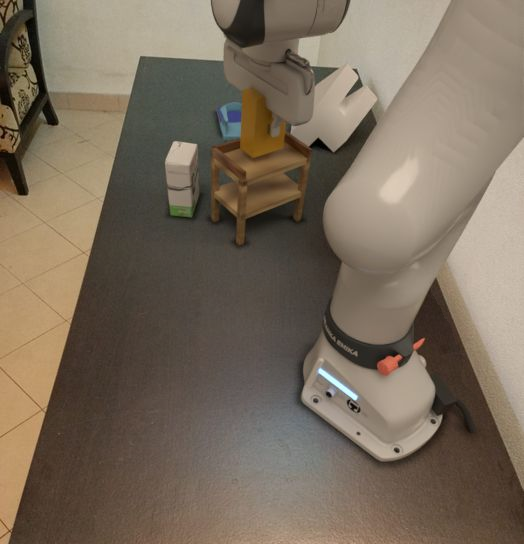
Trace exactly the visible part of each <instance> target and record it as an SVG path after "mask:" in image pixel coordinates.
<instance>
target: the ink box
mask: <svg viewBox="0 0 524 544" xmlns="http://www.w3.org/2000/svg"><path fill="white" fill-rule="evenodd" d="M164 168H165V179H166V189H167V199H168V207H169V208H168V209H169V215H170V216H173V217H183V218H193V217H194V213H195V210H196V207H197V203H198V200H199V196H200V177H199V174H200V173H199V149H198V144H197V143H191V142H185V141H178V140H174V141H172V144H171V146H170V149H169V150H168V152H167V156H166V158H165V160H164Z"/></svg>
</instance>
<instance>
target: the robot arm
mask: <svg viewBox="0 0 524 544" xmlns="http://www.w3.org/2000/svg"><path fill="white" fill-rule="evenodd" d="M350 5H351V0H210V8H211V12H212V16H213V19H214V22H215V24H216V26H217V27H218V28H219V30H220V31H221V32H222V33H223V34H222V35H223V37H224V38H225V40H224V43H223V56H222V57H223V59H222V61H223V62H222V63H223V74H224V77H225V81H226V82H227V83H228V84H230V85H231V86H233V87H235V89H238V90H239V91H240V92H242V90H245V89H249V88H252V89H253V90H255V91H256V92H258V93H259V94H261V95H263V96H264V97H265V107H266V108H267V109H268V110H270V111H271V112H272V118H274V120H273V122H272V124H268V126H267V134H269V135H270V136H271V137H273V138H274V137H277V136H279V134H280V127H281V125H282V124H283V122H284V121H286V123H287V124H289V125H291V127H292V126H299V125H302V124H305V123H307V122H309V121H310V120H311V118H312V116H313V109H314V94H315V86H316V85H315V84H316V83H315V72H314V70H313V68H312V66H311V62H310V61H309V60H308V59H307V58H305V57H303V56H301V55H299V46H300V39H306V38H307V39H308V38H315V37H321V36H322V37H323V36H325V35H328V34H332V33H335V32H336V31H337V30H338V29H339V28H340V26H341V25H342V23H343V22H344V20H345V18H346V16H347V14H348V12H349V8H350ZM384 110H385V111H384V112H383V113H382V115H381V117H380V118H379V119H378V121H377V123H376V125H375V126H374V127H373V130H372V131H371V133H370V134H369V136H368V138H367V139H366V141H365V143H364V145H363V146H362V148H361V149H360V150H359V152H358V154H357V156H356V157H355V159H354V160H353V162H352V164H351V165H350V166H349V167H348V169H347V171H346V172H345V174H344V175H342V177H341V179H340V180H339V181H338V183H337V184H336V186H335V187H334V189H333V190H332V191H331V192H330V194H329V195H328V197H327V199H326V201H325V204H324V207H323V212H322V227H323V232H324V235H325V238H326V241H327V243H328V245H329V247H330V249H331V250H332V251H333V253H334V254H335V256H336V257H337V258H338V259H339V261H341V264H340V267H339V271H338V275H337V278H336V282H335V286H334V289H333V293H332V295H331V296H330V298H329V299H328V301H327V304H326V308H325V311H324V314H323V318H322V323H321V324H322V325H321V326H322V329H321V332H320V334H319V336H318V338H317V340H316V341H315V343H314V345H313V347H312V348H311V349H310V350H309V352H308V353H307V354H306V357H305V359H304V361H303V366H302V374H303V381H304V383H303V387H302V390H301V394H300V401H301V403H302V404H303V405H304V406H306V407H307V408H309V410H311V411H313V412H314V414H316V415H317V416H319V417H320V418H322V419H323V420H324V421H325V422H326V423H328V424H330V425H331V426H332V427H333V428H335V429H336V430H337V431H339V433H342V434H343V435H344V436H345V437H347V438H348V439H349V440H351V441H352V442H353V443H355V444H356V445H357V446H358V447H359V448H361V449H362V450H363V451H365V452H366V453H367V454H369V455H370V456H372V457H373V458H374V459H375V460H377V461H379V462H383V463H384V462H394V461H399V460H401V459H402V460H403V459H404V458H406V457H408V456H410V455H412V454H414V453H415V452H416V451H418V450H419V449H421V448H422V447H423V446H424V445H426V444H427V443H428V442H429V441H430V440H431V439H432V437H434V435H435V434H436V432H437V431H438V429H439V427H440V425H441V423H442V421H443V415H444V414H447V413H450V412H451V411H452V409H453V408H454V406H456V407H457V408H458V409H459V410H460V412H461V413H462V416H463V417H464V420H465V423H466V427H467V430H468V432H470V433H472V432H475V431H476V427H475V423H474V421H473V418H472V415H471V413H470V411H469V410H468V407H467V406H466V405H465V403H464V402H463V401H462V400H461V399H459V397H457V396H456V395H454V393H453V391H452V390H451V389H450V388H449V387H448V385H447V383H445V381H444V380H443V378H442V377H441V376H440V375H439V374H438V372H435V373H433V374H429V372H428V370H427V361H426V359H425V357H424V356H422V355H420V354H418V351H417V350H419V348H421V346H422V345H423V343H424V341H425V340H426V338H425V337H423V338H421V339H419V340H418V341H417V342H415V325H414V321H415V319H416V317H417V315H418V313H419V311H420V309H421V307H422V305H423V303H424V301H425V298H426V296H427V295H428V292H429V290H430V289H431V287H432V285H433V284H434V282H435V280H436V278H437V276H438V275H439V273H440V272H441V270H442V268H443V266H444V265H445V264H446V262H447V260H448V258H449V257H450V256H451V254H452V252H453V250H454V248H455V246H456V245H457V243H458V242H459V239H460V238H461V236H462V235H463V232H464V231H465V230H466V228H467V226H468V225H469V222H470V221H471V219H472V217H473V215H474V214H475V212H476V210H477V209H478V206H479V205H480V203H481V201H482V200H483V197H484V196H485V193H486V192H487V190H488V188H489V186H490V184H491V182H492V181H493V178H494V176H495V175H496V172H497V171H498V169H499V168H500V166H501V165H502V164H504V162H505V161H506V159H507V158H509V156H510V155H511V154H512V152H513V151H514V150H515V148H516V147H517V146H518V145H519V144H520V143H521V141H522V140H523V139H524V0H450V1H449V4H448V5H447V7H446V10H445V11H444V14H443V15H442V18H441V19H440V22H439V23H438V25H437V27H436V29H435V31H434V33H433V35H432V36H431V38H430V40H429V42H428V44H427V45H426V47H425V49H424V51H423V52H422V54H421V55H420V57H419V59H418V60H417V62H416V63H415V65H414V67H413V68H412V70H411V72H410V73H409V74H408V75H407V77H406V78H405V80H404V82H402V84H401V86H400V88H399V89H398V90H397V92H396V93H395V95H394V97H393V98H392V99H391V100H390V103H389V104H388V106H387V107H386V109H384ZM396 451H397V452H396Z"/></svg>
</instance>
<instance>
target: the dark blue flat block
mask: <svg viewBox="0 0 524 544" xmlns="http://www.w3.org/2000/svg"><path fill="white" fill-rule="evenodd" d="M221 107H222V106H219V107H217V108H216V114H217V118H218V122H219V124H220V122H222V120H223V118H222V114H221V111H220V108H221ZM227 118H228V123H237V122H241V112H239V111H230V112H227Z"/></svg>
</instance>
